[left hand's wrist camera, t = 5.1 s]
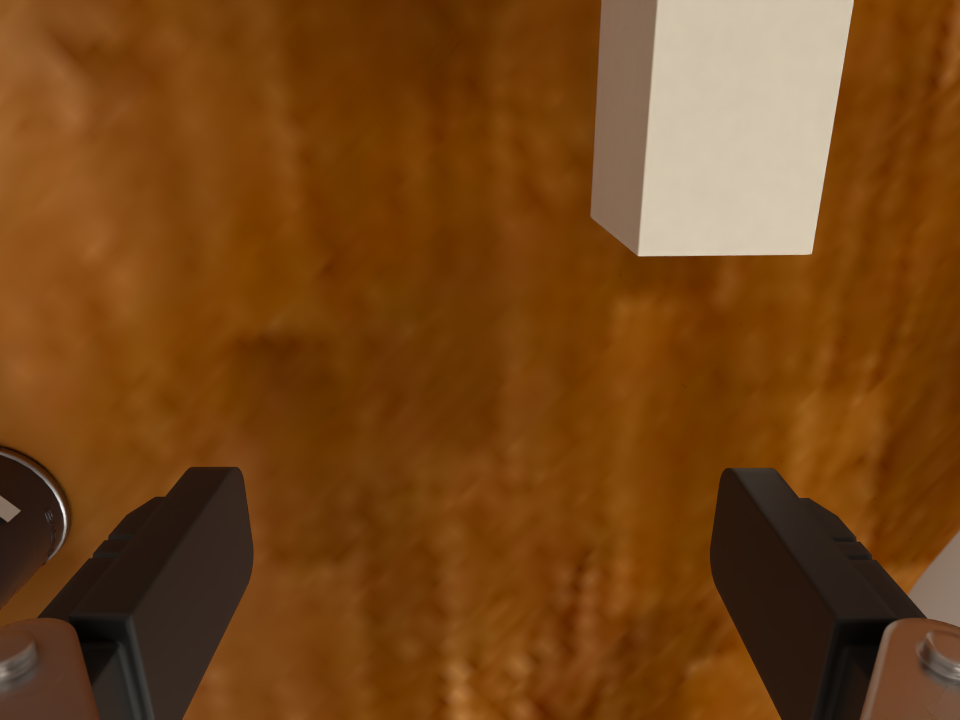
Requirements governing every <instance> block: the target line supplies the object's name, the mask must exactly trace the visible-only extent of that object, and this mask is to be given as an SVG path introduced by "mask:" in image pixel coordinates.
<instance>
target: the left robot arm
mask: <svg viewBox="0 0 960 720" xmlns="http://www.w3.org/2000/svg"><path fill="white" fill-rule="evenodd" d="M70 525H71V514H70V508H69V504H68V502H67V499H66V497H65V494H64V493H63V491H62V489H61V487H60V486H59V485H58V483H57V482H56V481H55V479H54V478H53V477H52V476H51V475H50V474H49V473H48V472H47V471H46V470H45V469H43V468H42V467H41V466H40V465H38V464H37V463H36V462H34V461H32V460H31V459H29V458H27V457H25V456H23V455H21V454H19V453H17V452H14V451H11V450H8V449H5V448H1V447H0V610H1V609H2V608H3V607H4V606H5V605H6V604H7V603H8V601H9V600H10V599H11V598H12V597H13V596H14V595H15V594H16V593H17V592H18V591H19V590H20V589H21V588H22V587H23V586H24V584H25V583H26V582H27V581H28V580H29V579H30V578H31V577H32V576H33V575H34V574H35V573H36V572H37V570H38V569H39V568H40V567H41V566H43V565H44V564H45V563H46V562H47V561H48V560H49V559H50V558H52V557H53V556H54V555H55V554H56V552H57V551H58V550H59V549H60V548H61V547H62V546H63V544H64V543H65V541H66V539H67V537H68V534H69V531H70ZM710 563H711V571H712V576H713V579H714V583H715V585H716V588H717V590H718V592H719V594H720V596H721V598H722V600H723V602H724V604H725V606H726V608H727V610H728V612H729V614H730V616H731V618H732V620H733V622H734V624H735V626H736V628H737V630H738V632H739V634H740V636H741V638H742V640H743V642H744V644H745V646H746V648H747V650H748V652H749V654H750V656H751V658H752V661H753V663H754V665H755V667H756V669H757V671H758V673H759V675H760V677H761V679H762V681H763V683H764V685H765V687H766V689H767V691H768V693H769V695H770V697H771V699H772V701H773V703H774V705H775V707H776V709H777V711H778V713H779V715H780V717H781V719H782V720H960V627H957V626H954V625H951V624H948V623H945V622H941V621H937V620H932V619H927V618H926V616H925V615H924V614H923V613H922V612H921V611H920V610H919V608H918V607H917V606H916V605H915V604H914V603H913V602H912V600H911V599H910V598H909V597H908V596H907V595H906V594H905V592H904V591H903V590H902V589H901V588H900V587H899V586H898V585H897V583H896V582H895V581H894V580H893V579H892V578H891V577H890V575H889V574H888V573H887V572H886V571H885V570H884V569H883V567H882V566H881V565H880V564H879V563H878V562H877V561H876V560H872V555H871V554H870V553H869V552H868V550H867V549H866V548H865V547H864V546H863V545H862V544H861V542H857V541H856V537H855V536H854V534H853V533H852V532H851V531H850V530H849V529H848V528H847V527H846V525H845V524H844V523H843V522H842V521H841V520H840V519H839V517H838V516H836V515H835V514H833V513H831V512H830V511H828V510H827V509H825V508H824V507H822V506H820V505H819V504H817V503H816V502H814V501H812V500H811V499H809V498H799V497H798V496H797V495H796V494H795V492H794V491H793V490H792V489H791V488H790V486H789V485H788V484H787V483H786V482H785V480H784V479H783V478H782V477H781V475H780V474H779V473H778V472H777V471H776V470H775V469H773V468H727V469H725V470H724V471H723V473H722V475H721V478H720V483H719V490H718V497H717V504H716V511H715V518H714V525H713V532H712V539H711V547H710ZM252 566H253V542H252V535H251V528H250V520H249V513H248V506H247V499H246V492H245V485H244V479H243V475H242V473H241V471H240V469H239V468H238V467H191V468H189V469H188V470H187V471H186V472H185V473H184V474H183V476H182V477H181V478H180V479H179V480H178V482H177V483H176V484H175V485H174V487H173V488H172V489H171V490H170V492H169V493H168V494H167V495H166V496H165V497H154V498H153V499H151V500H150V501H148V502H147V503H145V504H143V505H142V506H140V507H139V508H137V509H135V510H134V511H132V512H131V513H129V514H128V515H126V517H125V518H124V519H123V520H122V521H121V522H120V523H119V525H118V526H117V527H116V528H115V529H114V530H113V531H112V533H111V534H110V535H109V538H108V540H105V541H104V542H103V543H102V544H101V545H100V546H99V548H98V549H97V550H96V551H95V552H94V553H93V558H89V559H88V560H87V561H86V562H85V564H84V565H83V566H82V567H81V568H80V569H79V570H78V572H77V573H76V574H75V575H74V576H73V577H72V579H71V580H70V581H69V582H68V583H67V584H66V585H65V587H64V588H63V589H62V590H61V591H60V592H59V593H58V595H57V596H56V597H55V598H54V599H53V600H52V601H51V603H50V604H49V605H48V606H47V607H46V608H45V610H44V611H43V612H42V613H41V614H40V615H39V616H38V618H35V619H28V620H23V621H19V622H15V623H12V624H9V625H6V626H3V627H0V720H182V718H183V716H184V714H185V712H186V710H187V708H188V706H189V704H190V702H191V700H192V698H193V696H194V694H195V692H196V690H197V688H198V686H199V684H200V682H201V680H202V678H203V675H204V673H205V671H206V669H207V667H208V665H209V663H210V661H211V659H212V657H213V655H214V653H215V651H216V649H217V647H218V645H219V643H220V641H221V639H222V637H223V635H224V632H225V630H226V628H227V626H228V624H229V622H230V620H231V618H232V616H233V614H234V612H235V610H236V608H237V606H238V604H239V602H240V600H241V598H242V596H243V594H244V592H245V590H246V587H247V585H248V583H249V580H250V576H251V572H252Z"/></svg>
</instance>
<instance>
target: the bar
mask: <svg viewBox="0 0 960 720" xmlns="http://www.w3.org/2000/svg"><path fill="white" fill-rule="evenodd" d="M853 2H854V0H602V3H601V23H600V42H599V62H598V81H597V101H596V121H595V140H594V160H593V179H592V199H591V218H592V219H593V220H595V221H596V222H597V223H598V224H599V225H601V226H602V227H603V228H604V229H606V230H607V231H608V232H609V233H610V234H612V235H613V236H614V237H615V238H617V239H618V240H619V241H620V242H621V243H623V244H624V245H625V246H626V247H628V248H629V249H630V250H631V251H632V252H634V253H635V254H636V255H637V256H708V255H810V254H812V249H813V243H814V237H815V231H816V224H817V218H818V212H819V206H820V200H821V194H822V188H823V182H824V176H825V170H826V164H827V158H828V152H829V146H830V140H831V134H832V128H833V122H834V116H835V110H836V104H837V98H838V92H839V86H840V80H841V74H842V68H843V62H844V56H845V50H846V44H847V38H848V32H849V26H850V20H851V14H852V8H853Z"/></svg>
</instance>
